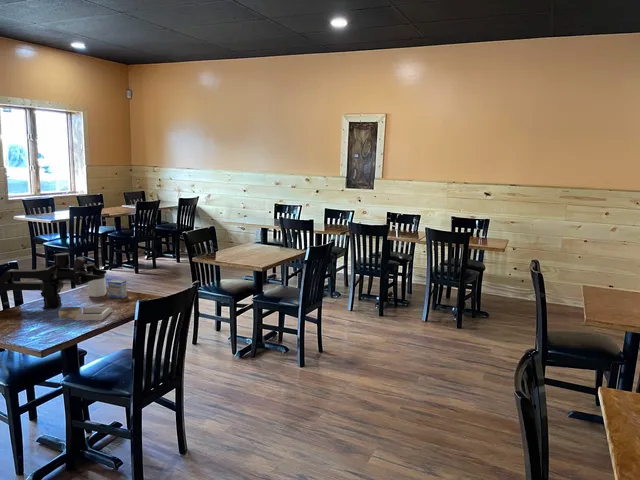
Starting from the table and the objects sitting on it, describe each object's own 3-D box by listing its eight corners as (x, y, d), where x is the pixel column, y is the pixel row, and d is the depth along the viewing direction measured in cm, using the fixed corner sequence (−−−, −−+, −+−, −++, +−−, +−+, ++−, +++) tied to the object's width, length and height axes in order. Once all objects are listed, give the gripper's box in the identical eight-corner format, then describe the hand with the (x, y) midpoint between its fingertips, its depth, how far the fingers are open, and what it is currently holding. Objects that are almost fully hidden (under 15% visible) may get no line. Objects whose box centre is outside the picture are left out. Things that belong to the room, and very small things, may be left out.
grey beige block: (59, 318, 216) (58, 310, 215) (64, 314, 221) (63, 306, 220) (77, 318, 216) (76, 310, 216) (81, 314, 221) (81, 306, 220)
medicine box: (108, 297, 247) (107, 281, 245) (113, 295, 251) (112, 279, 250) (122, 298, 246) (121, 282, 244) (127, 296, 250) (126, 280, 249)
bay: (73, 320, 213) (73, 315, 213) (84, 312, 224) (84, 307, 224) (101, 320, 214) (101, 314, 214) (111, 312, 225) (110, 307, 224)
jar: (91, 298, 246) (90, 276, 244) (86, 294, 252) (84, 273, 249) (109, 294, 252) (107, 273, 250) (103, 291, 258) (102, 270, 255)
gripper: (59, 262, 218) (93, 262, 219) (77, 254, 236) (109, 254, 237) (61, 285, 220) (95, 285, 221) (79, 275, 239) (110, 275, 239)
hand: (102, 274), depth 230 cm, fingers open, 9 cm apart
